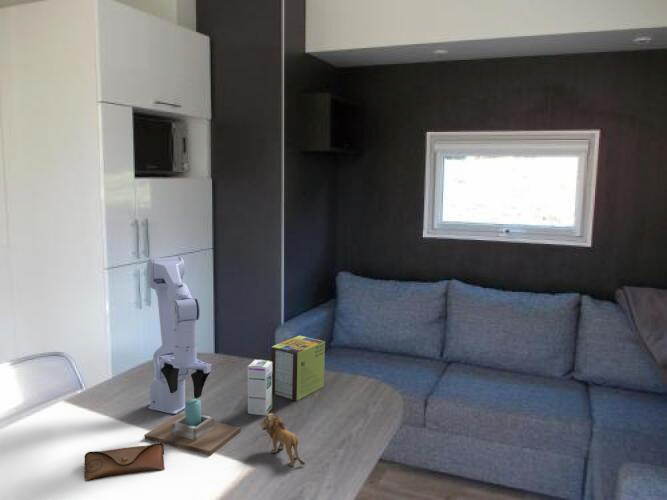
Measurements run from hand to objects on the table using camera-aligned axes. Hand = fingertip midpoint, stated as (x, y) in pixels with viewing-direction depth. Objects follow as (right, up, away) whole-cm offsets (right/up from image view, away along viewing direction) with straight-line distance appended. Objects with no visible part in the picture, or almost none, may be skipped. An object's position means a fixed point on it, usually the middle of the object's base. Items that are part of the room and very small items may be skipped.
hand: (185, 394), depth 149 cm
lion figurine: (+26, -13, -9) cm, 31 cm away
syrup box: (+18, -9, +16) cm, 25 cm away
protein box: (+27, -7, +32) cm, 43 cm away
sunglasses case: (-10, -13, -17) cm, 24 cm away
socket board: (+2, -11, -1) cm, 11 cm away
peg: (+2, -9, -1) cm, 10 cm away
